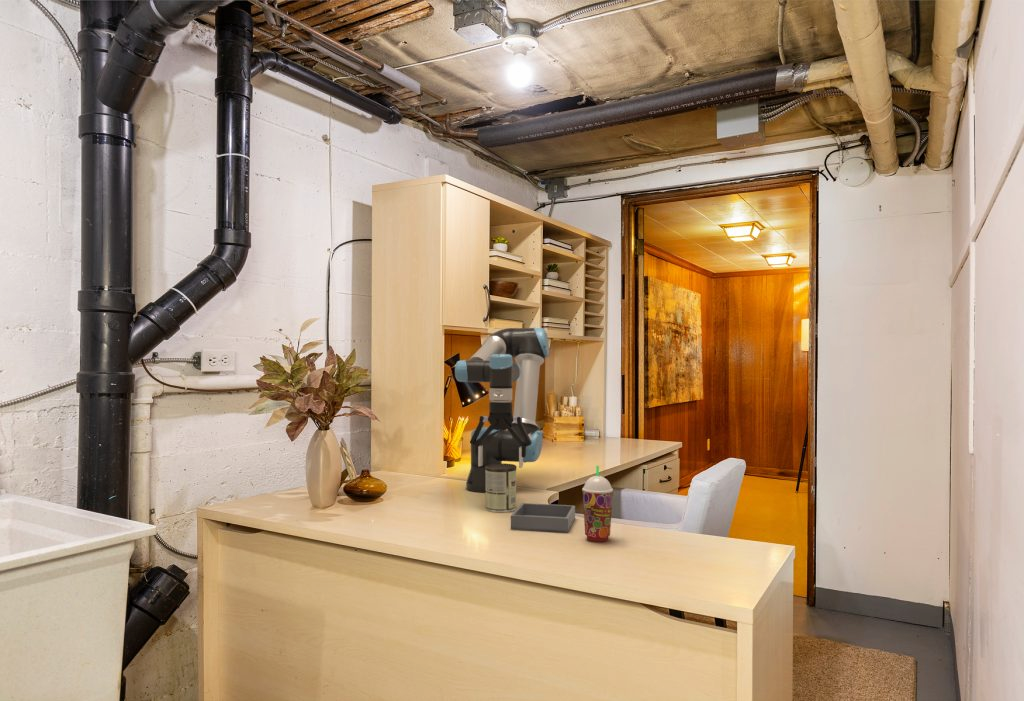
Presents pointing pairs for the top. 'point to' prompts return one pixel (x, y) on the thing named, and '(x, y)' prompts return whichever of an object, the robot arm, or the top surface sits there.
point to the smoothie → (597, 507)
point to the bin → (543, 517)
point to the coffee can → (500, 487)
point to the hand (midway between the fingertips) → (500, 466)
